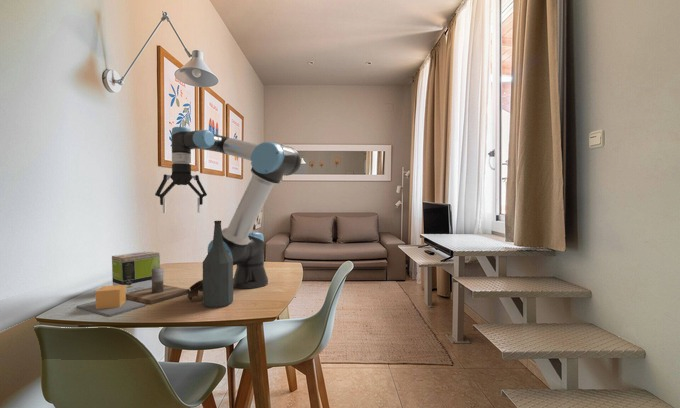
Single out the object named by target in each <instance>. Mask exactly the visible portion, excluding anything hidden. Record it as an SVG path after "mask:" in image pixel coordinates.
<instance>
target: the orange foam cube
mask: <svg viewBox="0 0 680 408" xmlns="http://www.w3.org/2000/svg"><path fill="white" fill-rule="evenodd" d="M126 294H127V293H126V285H114V286H113V285H105V286H101V287H100V288H98V289H97V290H96V291H95V301H96V309H103V308H115V307H120V306H121V305H122V304H123V303H124V302H125V301H126V300H127V299H126Z"/></svg>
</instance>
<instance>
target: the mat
mask: <svg viewBox="0 0 680 408" xmlns="http://www.w3.org/2000/svg"><path fill="white" fill-rule="evenodd" d="M146 305H147V303H143V302H138V301H134V300H129V299H126V301H125V302H124V303H123V304H122V305H121V306H120V307H115V308H103V309H96V300H95V301H90V302H86V303H82V304H77V305H76V306H75V307H76V308H77V309H81V310H84V311H88V312H92V313H95V314H99V315H103V316H106V317H113V316H117V315H120V314H124V313H127V312H131V311H134V310H137V309H141V308H143V307H144V308H145V307H146Z"/></svg>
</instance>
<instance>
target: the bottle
mask: <svg viewBox="0 0 680 408" xmlns="http://www.w3.org/2000/svg"><path fill="white" fill-rule="evenodd" d="M213 223H214V227H213V228H214V229H213V239H212V240H213V246H212V248H211V250H210V251H209V253H208V252H207V254H206V256H205V258H204V260H203V261H202V280H203V292H202V304H203V305H204V307H206V308H209V309H214V308H215V309H218V308H224V307H228V306H229V305H231V304H232V303H233V302H234V286H233V278H234V265H233V260H232V258H231V257H230V255H229V254H228V252H227V251H226V249H225V248H224V246H223V238H222V230H223V228H222V220H214V222H213Z"/></svg>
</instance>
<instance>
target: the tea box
mask: <svg viewBox="0 0 680 408" xmlns="http://www.w3.org/2000/svg"><path fill="white" fill-rule="evenodd" d="M160 256H161V255H160V252H157V251H149V250H146V251H140V252H131V253H123V254H117V255H116V254H115V255H111V267H112V270H111V271H112V276H111V277H112V286H114V285H126V294H128V293H132V292H136V291H140V290H144V289H149V288H152V269H154V268H161V263H160V262H161V258H160Z"/></svg>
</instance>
